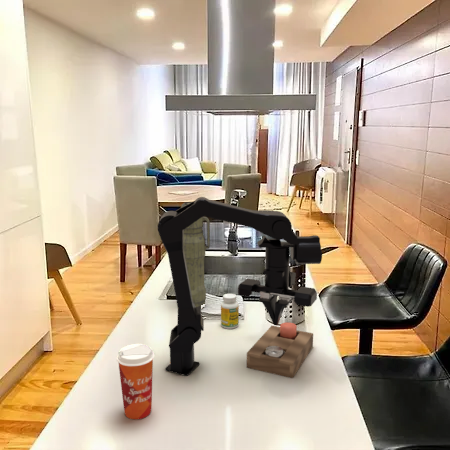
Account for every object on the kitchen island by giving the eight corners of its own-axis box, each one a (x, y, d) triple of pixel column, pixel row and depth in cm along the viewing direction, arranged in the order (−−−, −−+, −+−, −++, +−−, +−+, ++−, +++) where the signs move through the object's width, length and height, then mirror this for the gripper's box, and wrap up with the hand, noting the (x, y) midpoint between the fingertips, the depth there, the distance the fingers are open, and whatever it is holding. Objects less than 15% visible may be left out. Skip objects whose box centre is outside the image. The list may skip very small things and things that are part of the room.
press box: (292, 378, 113) (293, 363, 112) (246, 367, 118) (246, 352, 118) (312, 347, 129) (313, 333, 128) (271, 338, 134) (271, 325, 133)
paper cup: (123, 426, 95) (120, 363, 92) (116, 406, 102) (113, 346, 99) (161, 417, 98) (159, 355, 95) (151, 398, 105) (149, 339, 102)
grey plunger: (279, 367, 116) (279, 355, 115) (262, 363, 118) (262, 351, 117) (285, 359, 120) (285, 347, 119) (268, 356, 122) (269, 344, 121)
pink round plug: (293, 341, 125) (293, 330, 124) (277, 338, 127) (277, 327, 126) (298, 335, 129) (298, 324, 128) (282, 332, 131) (283, 321, 130)
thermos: (175, 301, 162) (172, 201, 155) (209, 300, 163) (208, 200, 156) (174, 311, 154) (172, 205, 146) (210, 310, 155) (210, 205, 147)
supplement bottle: (229, 320, 147) (229, 291, 145) (242, 325, 143) (242, 295, 141) (217, 325, 143) (217, 295, 141) (229, 331, 139) (229, 300, 137)
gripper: (323, 260, 117) (321, 319, 120) (254, 251, 125) (253, 307, 128) (311, 272, 107) (309, 336, 110) (236, 262, 115) (236, 322, 118)
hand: (276, 324), depth 117 cm, fingers closed
